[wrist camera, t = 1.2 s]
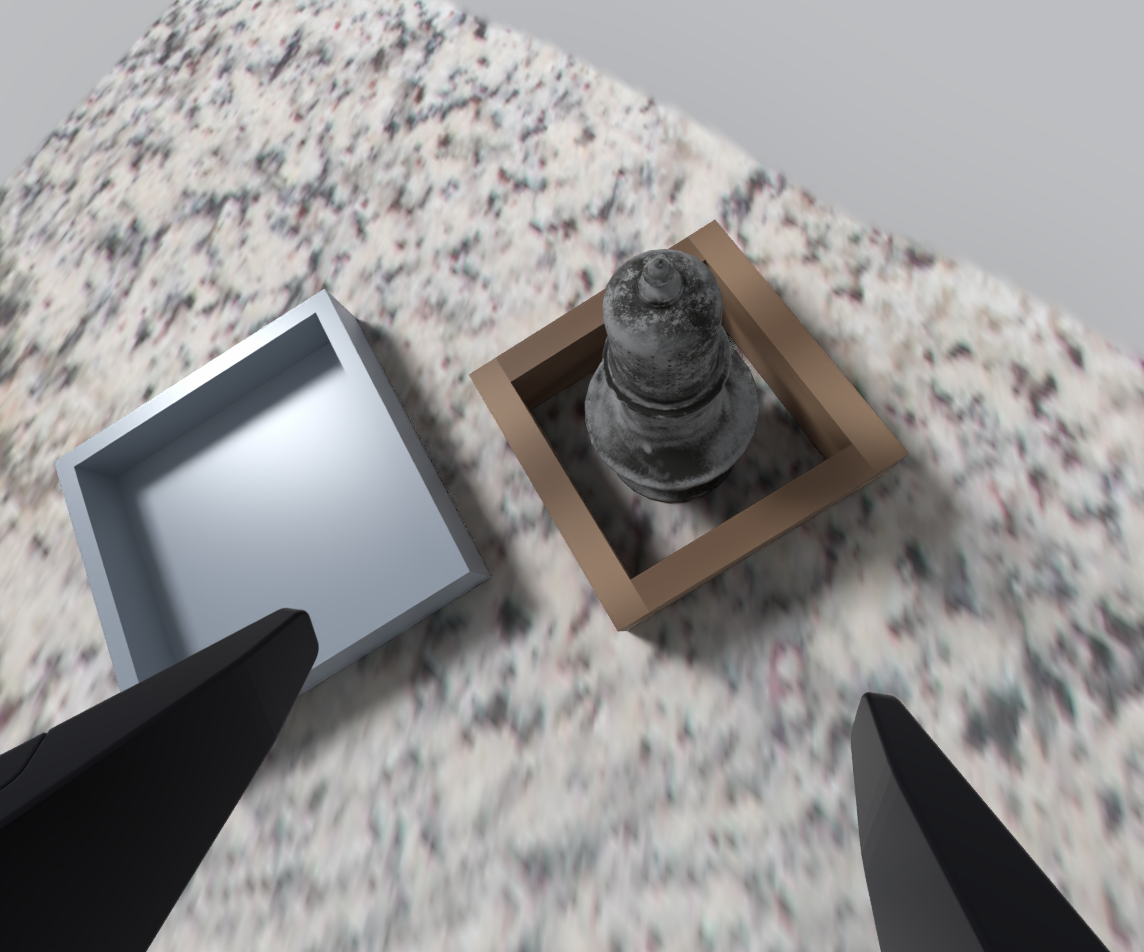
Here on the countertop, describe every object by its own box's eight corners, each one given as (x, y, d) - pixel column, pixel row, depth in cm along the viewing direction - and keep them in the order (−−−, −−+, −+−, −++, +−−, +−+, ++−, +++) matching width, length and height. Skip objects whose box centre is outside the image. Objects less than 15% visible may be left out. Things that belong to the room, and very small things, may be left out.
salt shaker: (680, 341, 25) (674, 94, 13) (782, 443, 23) (875, 260, 12) (570, 431, 25) (468, 260, 13) (662, 541, 23) (638, 453, 11)
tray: (491, 577, 24) (469, 571, 21) (197, 758, 24) (143, 773, 22) (355, 317, 28) (324, 288, 26) (107, 475, 28) (53, 461, 26)
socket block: (880, 476, 22) (909, 453, 19) (626, 631, 22) (617, 631, 19) (711, 266, 25) (715, 219, 22) (493, 403, 26) (469, 374, 23)
